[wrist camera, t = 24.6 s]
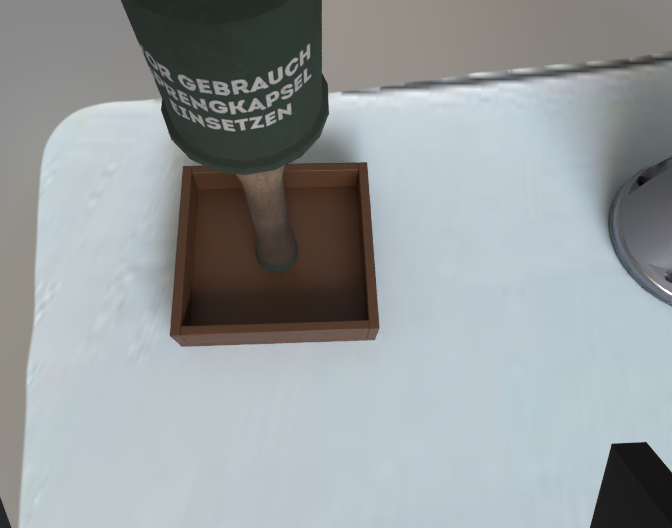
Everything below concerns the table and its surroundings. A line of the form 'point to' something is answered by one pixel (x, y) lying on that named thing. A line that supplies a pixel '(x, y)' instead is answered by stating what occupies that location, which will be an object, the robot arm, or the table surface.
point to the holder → (268, 287)
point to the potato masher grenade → (240, 94)
